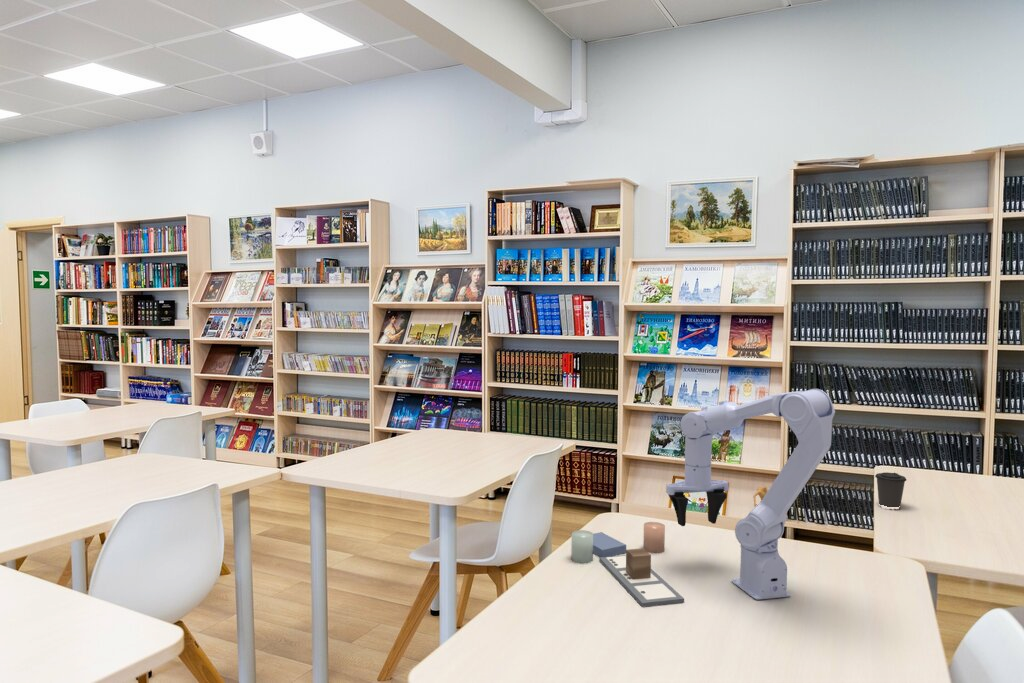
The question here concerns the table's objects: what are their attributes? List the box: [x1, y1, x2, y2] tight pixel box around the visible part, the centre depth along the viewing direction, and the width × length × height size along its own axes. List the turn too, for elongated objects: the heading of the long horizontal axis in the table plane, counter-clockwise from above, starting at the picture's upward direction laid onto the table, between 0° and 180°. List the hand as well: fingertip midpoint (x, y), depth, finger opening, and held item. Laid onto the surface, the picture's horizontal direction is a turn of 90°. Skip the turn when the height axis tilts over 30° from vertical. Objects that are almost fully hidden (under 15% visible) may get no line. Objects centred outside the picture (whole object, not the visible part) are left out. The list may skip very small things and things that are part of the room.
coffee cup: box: [875, 472, 907, 507], centre depth 198 cm, size 8×8×10 cm
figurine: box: [752, 486, 768, 508], centre depth 176 cm, size 8×6×12 cm
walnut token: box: [625, 548, 652, 580], centre depth 146 cm, size 4×4×5 cm
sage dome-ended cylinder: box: [570, 529, 594, 564], centre depth 157 cm, size 5×5×6 cm
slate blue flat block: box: [593, 531, 627, 558], centre depth 164 cm, size 10×7×2 cm
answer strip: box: [598, 554, 685, 608], centre depth 146 cm, size 24×9×1 cm, turn 13°
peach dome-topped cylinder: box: [642, 521, 666, 554], centre depth 164 cm, size 5×5×6 cm
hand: (696, 523), depth 153 cm, fingers open, 7 cm apart
